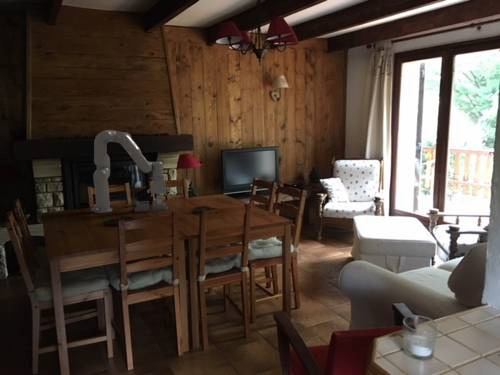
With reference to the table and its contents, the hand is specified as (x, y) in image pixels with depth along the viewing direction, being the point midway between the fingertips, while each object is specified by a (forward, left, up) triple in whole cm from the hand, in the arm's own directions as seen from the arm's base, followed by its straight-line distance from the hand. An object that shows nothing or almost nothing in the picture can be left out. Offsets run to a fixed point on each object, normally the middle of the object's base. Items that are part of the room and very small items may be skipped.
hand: (159, 201), depth 320 cm
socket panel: (-4, +4, -6) cm, 9 cm away
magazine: (+6, +21, -6) cm, 23 cm away
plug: (0, 0, -6) cm, 6 cm away
